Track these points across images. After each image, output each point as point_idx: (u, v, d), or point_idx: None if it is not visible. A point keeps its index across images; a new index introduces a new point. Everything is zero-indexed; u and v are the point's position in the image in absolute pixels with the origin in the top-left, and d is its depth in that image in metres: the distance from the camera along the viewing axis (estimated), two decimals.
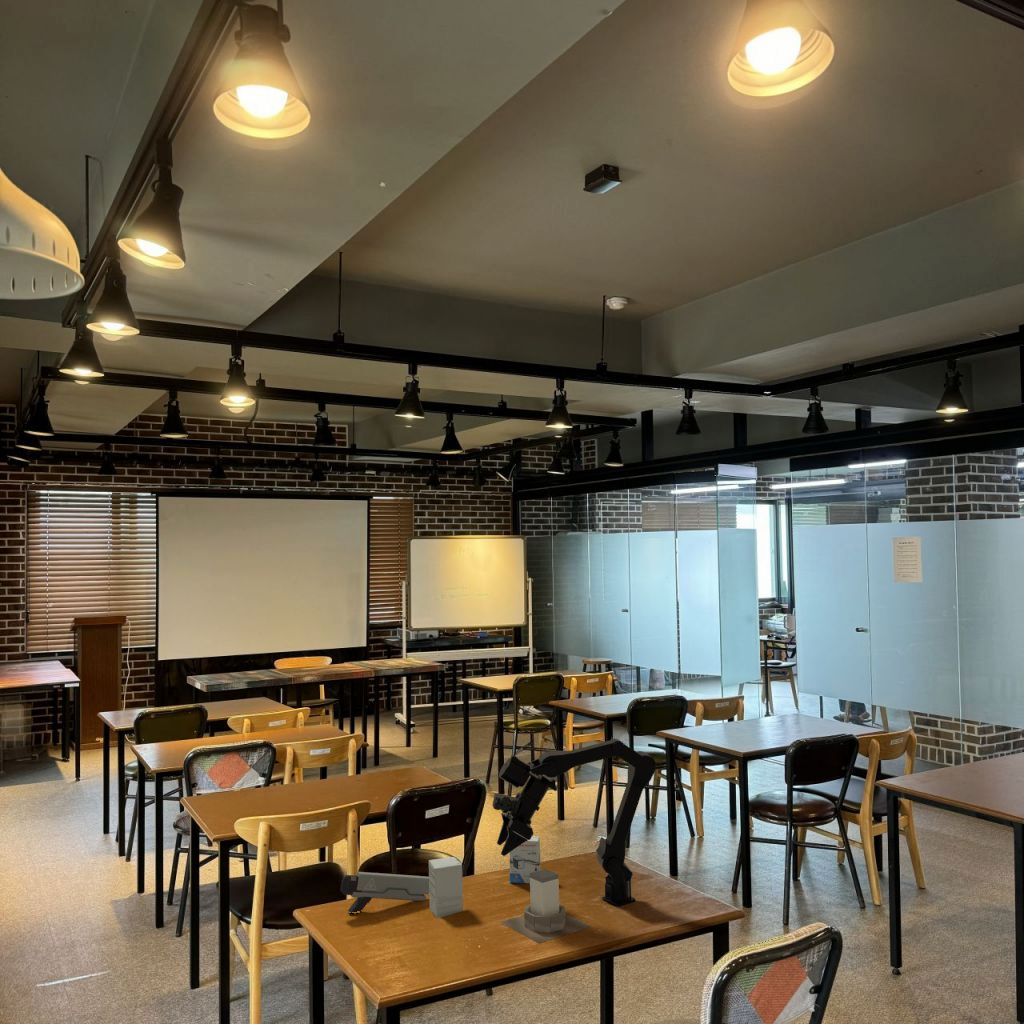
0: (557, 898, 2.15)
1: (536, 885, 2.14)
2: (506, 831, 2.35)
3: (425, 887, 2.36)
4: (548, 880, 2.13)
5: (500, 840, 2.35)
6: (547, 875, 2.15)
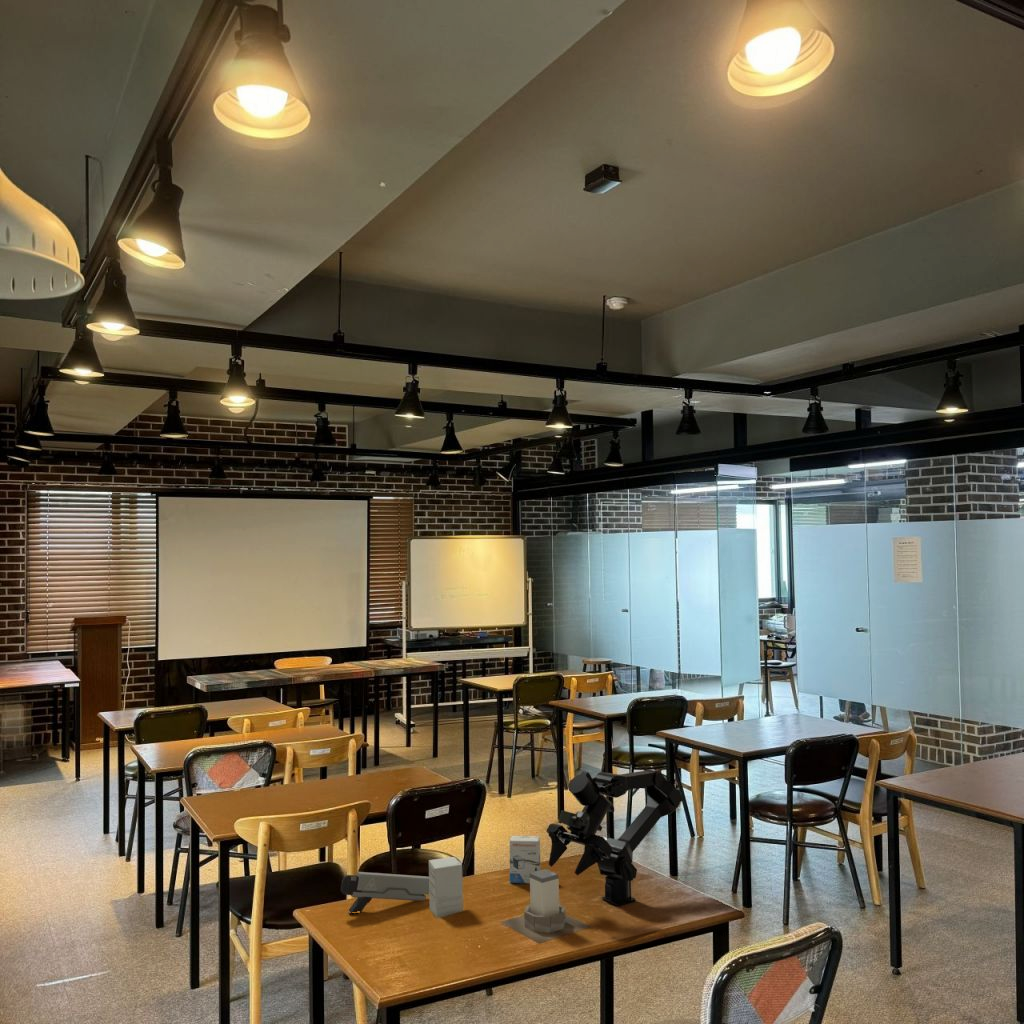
0: (557, 898, 2.15)
1: (536, 885, 2.14)
2: (557, 852, 2.26)
3: (425, 887, 2.36)
4: (548, 880, 2.13)
5: (552, 861, 2.24)
6: (547, 875, 2.15)
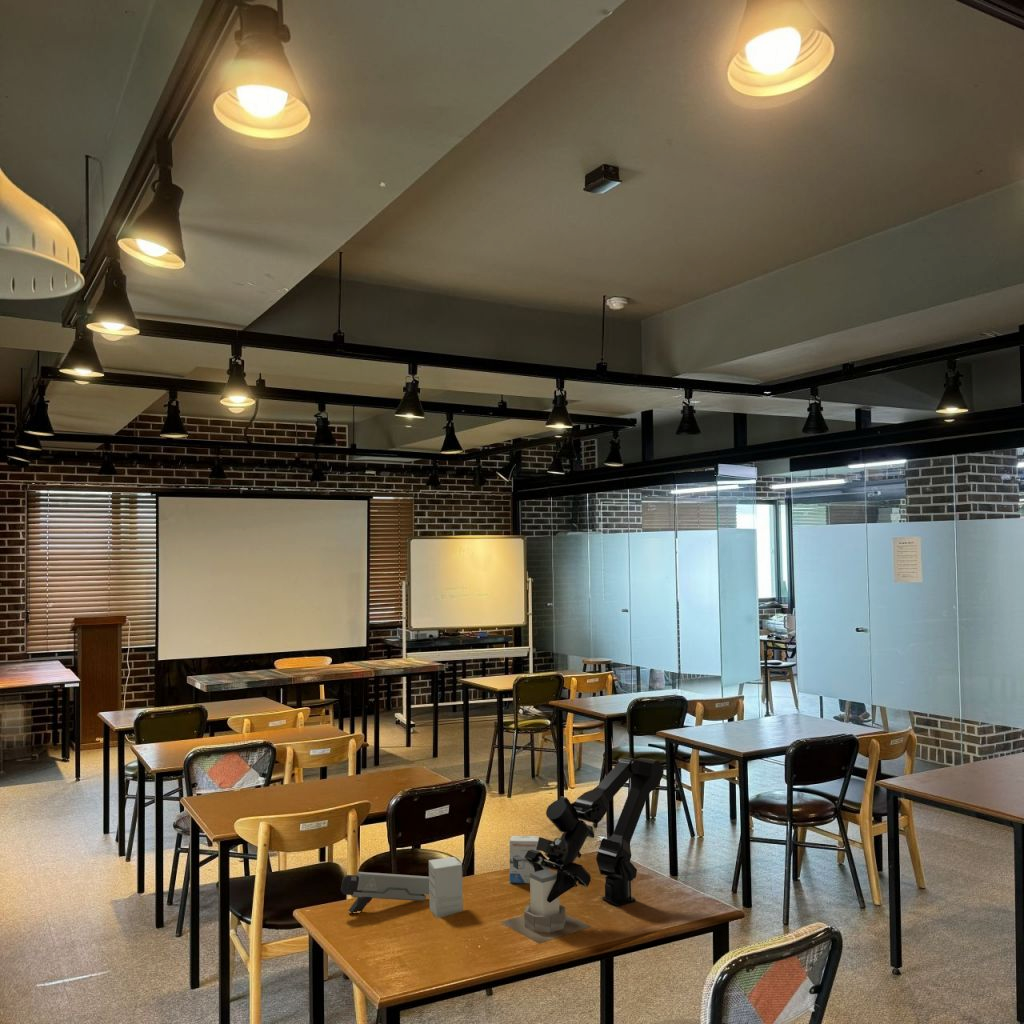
0: (557, 898, 2.15)
1: (536, 885, 2.14)
2: None
3: (425, 887, 2.36)
4: (548, 880, 2.13)
5: None
6: (547, 875, 2.14)
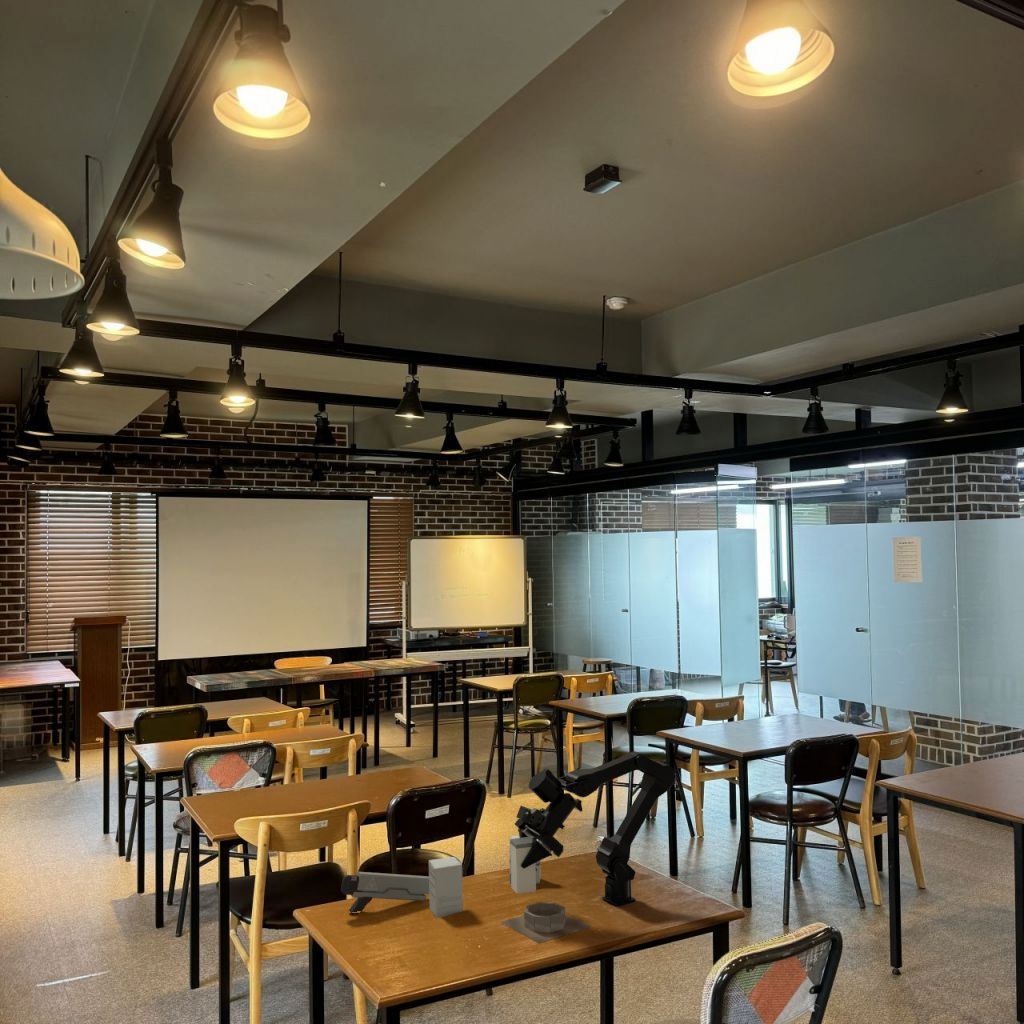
0: (533, 865, 2.21)
1: (513, 851, 2.23)
2: None
3: (425, 887, 2.36)
4: (523, 847, 2.21)
5: None
6: (523, 842, 2.22)
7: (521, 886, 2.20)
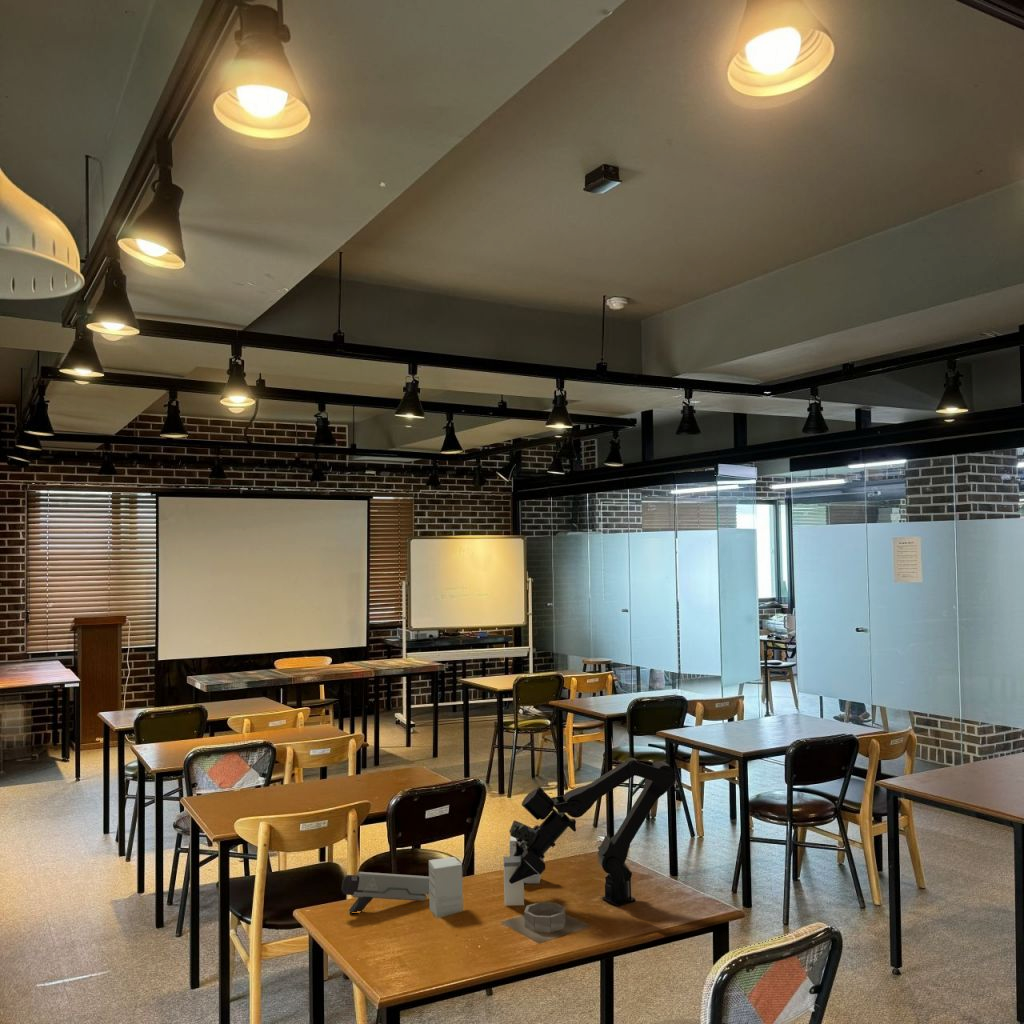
0: (521, 884, 2.28)
1: None
2: None
3: (426, 887, 2.36)
4: (511, 865, 2.29)
5: None
6: (512, 861, 2.30)
7: (509, 903, 2.28)
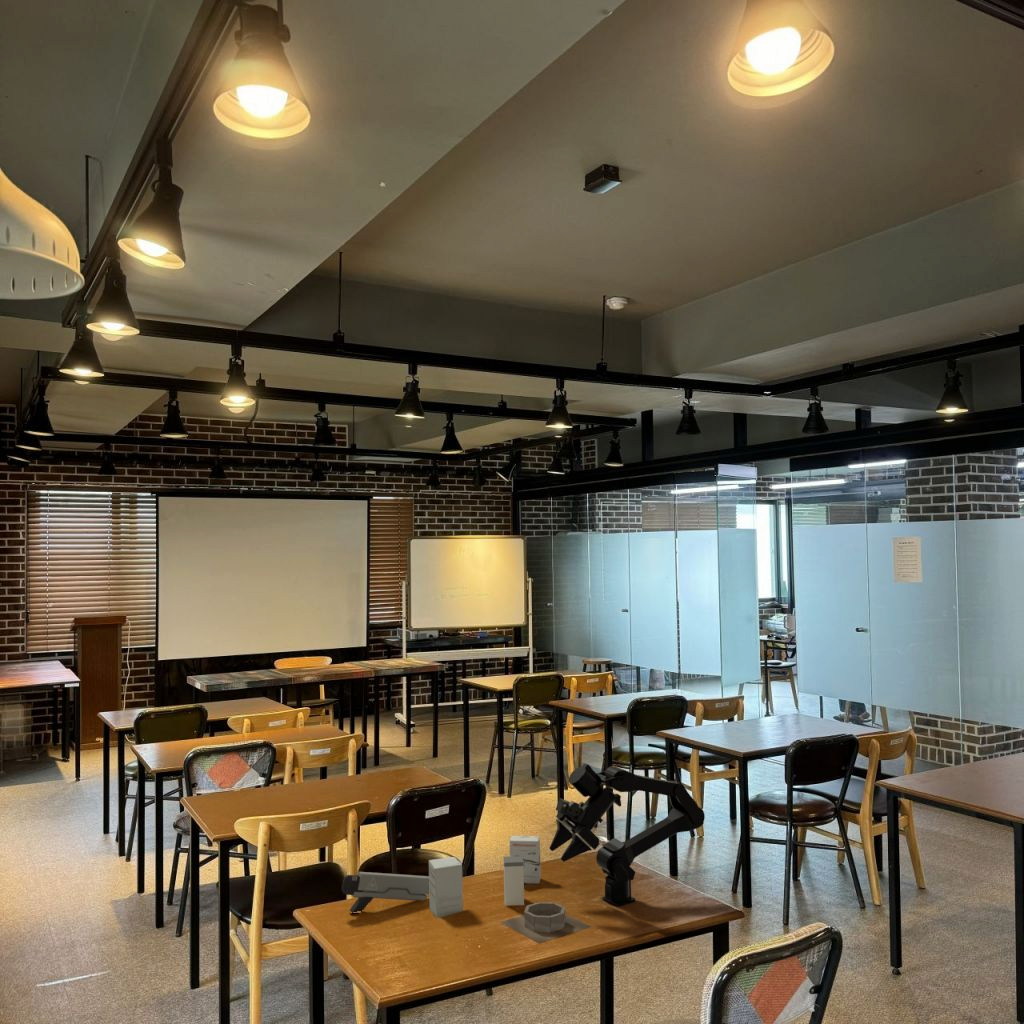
0: (522, 884, 2.28)
1: None
2: (560, 838, 2.34)
3: (426, 887, 2.36)
4: (511, 865, 2.29)
5: (553, 846, 2.33)
6: (513, 861, 2.30)
7: (509, 903, 2.28)
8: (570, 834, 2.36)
